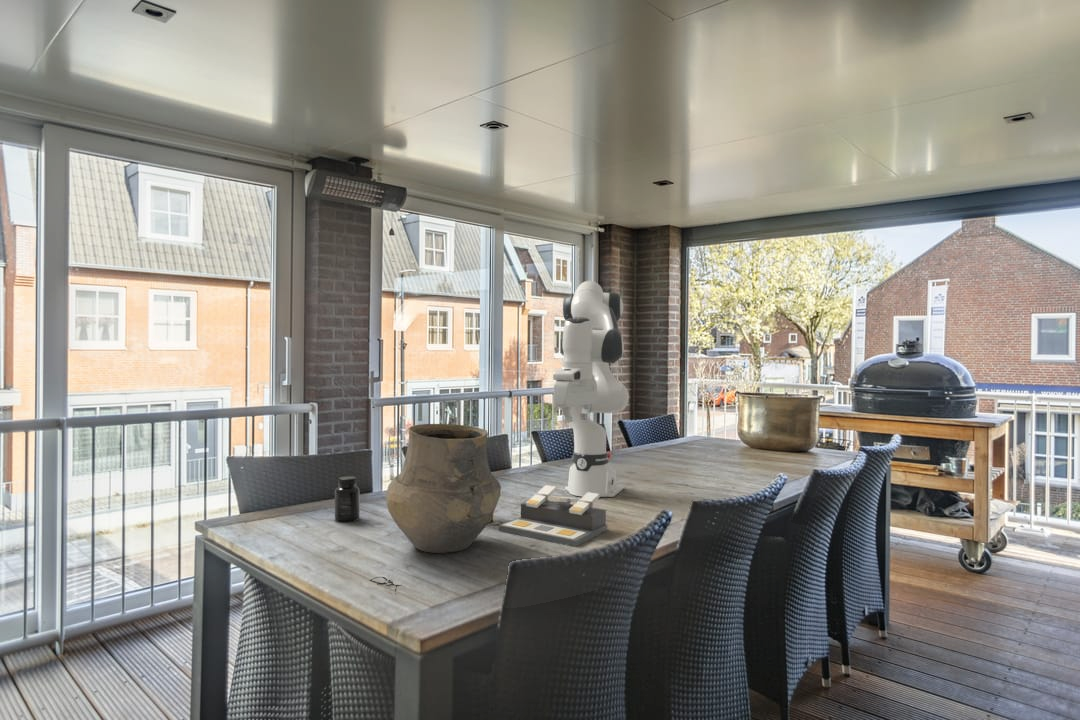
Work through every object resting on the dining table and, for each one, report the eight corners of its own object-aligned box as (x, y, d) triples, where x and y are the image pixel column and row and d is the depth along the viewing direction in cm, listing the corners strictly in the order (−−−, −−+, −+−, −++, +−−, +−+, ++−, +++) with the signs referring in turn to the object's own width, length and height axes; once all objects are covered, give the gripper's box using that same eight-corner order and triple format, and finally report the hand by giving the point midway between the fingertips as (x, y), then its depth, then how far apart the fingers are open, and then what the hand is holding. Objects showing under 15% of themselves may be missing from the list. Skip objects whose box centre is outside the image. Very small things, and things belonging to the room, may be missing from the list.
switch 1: (546, 492, 188) (545, 484, 187) (557, 493, 186) (556, 486, 186) (526, 510, 179) (525, 502, 179) (537, 512, 177) (536, 504, 177)
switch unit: (534, 516, 189) (534, 498, 188) (607, 530, 176) (607, 510, 176) (498, 530, 173) (498, 510, 173) (575, 546, 161) (576, 525, 160)
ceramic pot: (447, 524, 179) (449, 418, 178) (524, 545, 161) (526, 427, 160) (362, 547, 157) (363, 426, 156) (439, 575, 139) (441, 438, 138)
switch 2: (566, 505, 184) (567, 496, 184) (577, 506, 182) (578, 498, 182) (546, 504, 175) (548, 495, 175) (558, 506, 173) (559, 497, 173)
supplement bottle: (364, 518, 184) (364, 476, 184) (348, 523, 178) (348, 481, 177) (346, 515, 187) (346, 474, 186) (329, 520, 180) (329, 478, 180)
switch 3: (588, 499, 181) (587, 491, 180) (599, 501, 179) (599, 493, 178) (570, 517, 172) (569, 509, 171) (581, 519, 170) (580, 511, 169)
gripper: (584, 372, 194) (583, 417, 195) (549, 373, 177) (549, 423, 177) (603, 372, 191) (602, 418, 191) (569, 374, 174) (568, 425, 174)
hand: (576, 420), depth 184 cm, fingers open, 8 cm apart
